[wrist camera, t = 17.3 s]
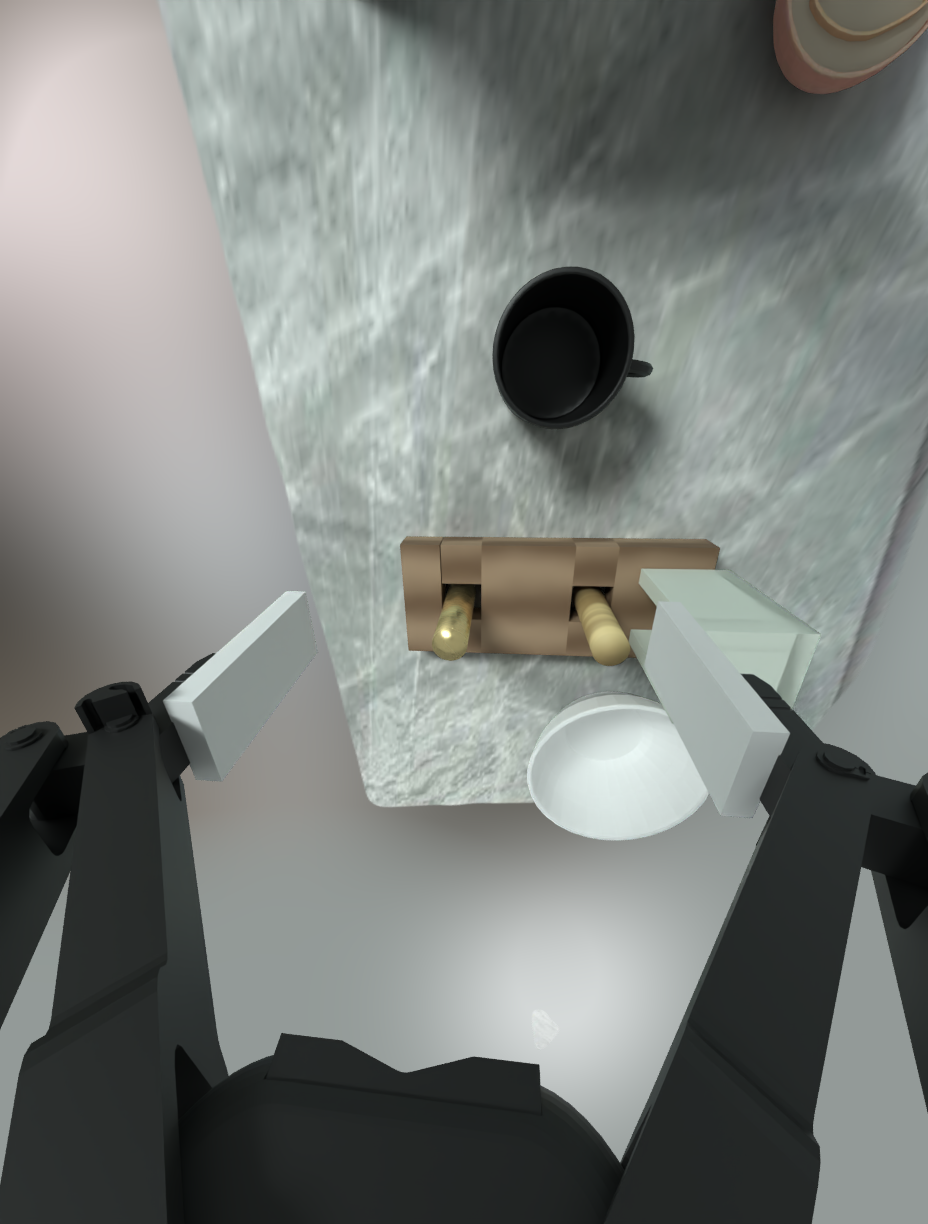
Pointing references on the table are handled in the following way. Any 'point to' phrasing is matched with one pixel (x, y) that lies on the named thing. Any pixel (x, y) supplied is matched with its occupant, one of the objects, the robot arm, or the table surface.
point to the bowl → (614, 769)
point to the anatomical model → (843, 39)
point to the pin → (454, 622)
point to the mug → (564, 348)
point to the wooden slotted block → (543, 590)
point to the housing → (735, 625)
